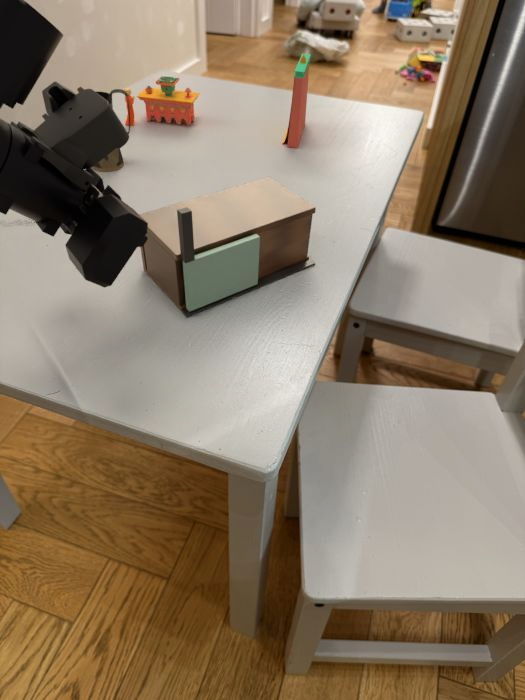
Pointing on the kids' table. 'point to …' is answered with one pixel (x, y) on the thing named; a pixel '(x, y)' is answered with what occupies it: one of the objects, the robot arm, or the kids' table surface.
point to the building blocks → (181, 102)
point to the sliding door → (215, 266)
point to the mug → (115, 157)
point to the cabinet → (231, 234)
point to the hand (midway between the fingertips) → (144, 240)
